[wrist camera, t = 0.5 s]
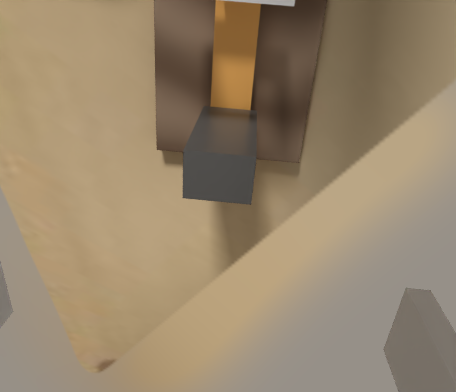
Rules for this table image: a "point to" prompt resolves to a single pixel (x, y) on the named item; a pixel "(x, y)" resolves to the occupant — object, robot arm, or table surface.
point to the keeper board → (263, 72)
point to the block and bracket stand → (227, 110)
